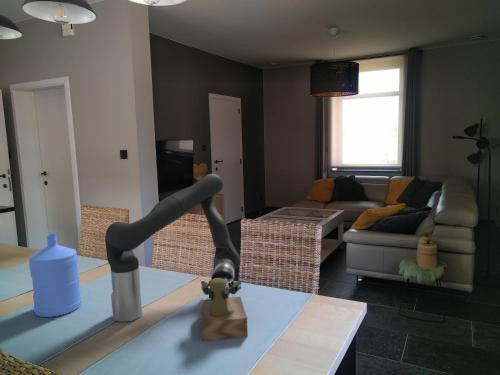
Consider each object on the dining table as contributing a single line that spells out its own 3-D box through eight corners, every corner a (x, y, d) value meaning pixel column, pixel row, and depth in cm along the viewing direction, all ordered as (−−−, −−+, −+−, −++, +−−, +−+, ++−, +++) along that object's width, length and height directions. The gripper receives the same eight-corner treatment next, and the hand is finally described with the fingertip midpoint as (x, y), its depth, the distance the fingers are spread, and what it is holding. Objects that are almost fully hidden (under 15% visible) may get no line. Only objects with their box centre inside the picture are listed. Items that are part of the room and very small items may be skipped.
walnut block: (201, 341, 112) (200, 322, 111) (200, 316, 127) (199, 300, 127) (247, 336, 114) (247, 317, 113) (240, 312, 129) (240, 296, 129)
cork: (225, 318, 113) (223, 283, 112) (206, 316, 114) (204, 282, 113) (230, 309, 119) (229, 276, 118) (212, 307, 120) (211, 275, 119)
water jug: (91, 303, 141) (84, 231, 138) (54, 321, 127) (46, 242, 123) (62, 297, 148) (56, 228, 144) (24, 314, 134) (16, 238, 130)
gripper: (202, 266, 130) (194, 285, 113) (242, 265, 129) (240, 284, 112) (203, 286, 131) (195, 309, 114) (243, 285, 130) (241, 308, 113)
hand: (218, 296), depth 113 cm, fingers closed on cork, 3 cm apart
